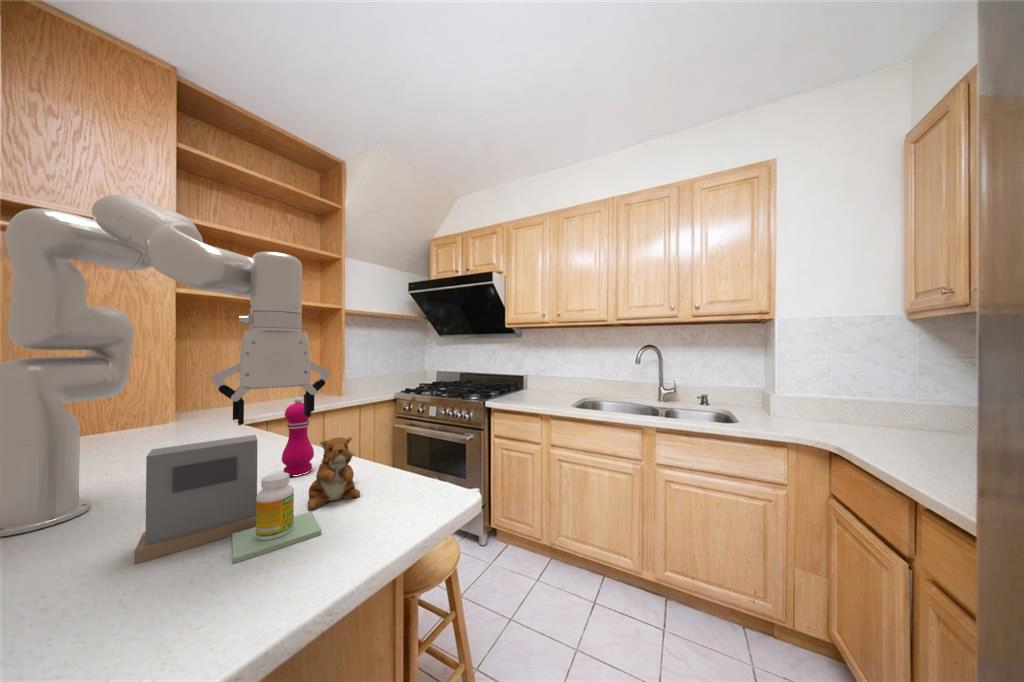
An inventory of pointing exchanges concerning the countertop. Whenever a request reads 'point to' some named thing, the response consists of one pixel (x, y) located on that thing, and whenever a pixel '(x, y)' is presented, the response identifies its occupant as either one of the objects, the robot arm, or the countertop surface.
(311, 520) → the pad
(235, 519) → the panel
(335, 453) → the stuffed squirrel
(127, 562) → the countertop surface
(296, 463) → the pepper mill
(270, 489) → the supplement bottle
